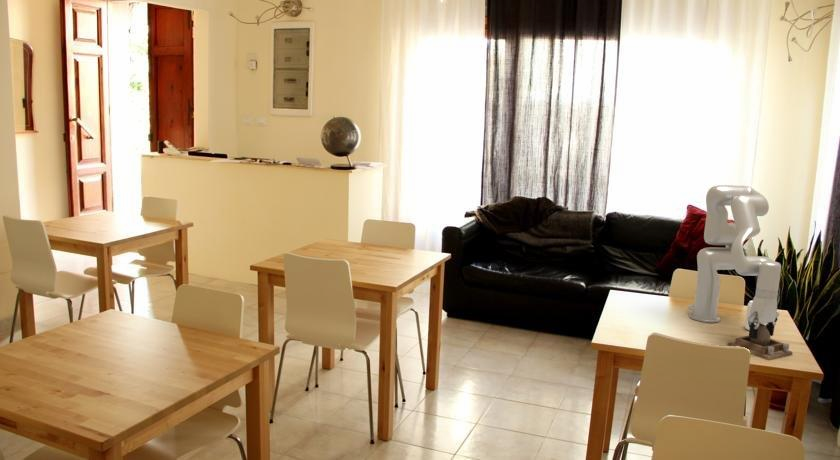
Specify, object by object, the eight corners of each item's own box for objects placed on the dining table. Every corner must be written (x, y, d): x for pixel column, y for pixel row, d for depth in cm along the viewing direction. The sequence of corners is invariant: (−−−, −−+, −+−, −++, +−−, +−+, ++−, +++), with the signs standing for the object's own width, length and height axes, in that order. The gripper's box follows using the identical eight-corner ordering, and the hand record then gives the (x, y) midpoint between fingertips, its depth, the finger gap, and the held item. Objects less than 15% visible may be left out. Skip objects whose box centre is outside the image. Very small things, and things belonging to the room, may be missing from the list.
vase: (771, 350, 276) (774, 328, 274) (751, 348, 277) (754, 326, 276) (766, 344, 283) (769, 323, 281) (747, 342, 284) (750, 321, 282)
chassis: (727, 344, 284) (728, 334, 283) (750, 340, 291) (751, 330, 290) (768, 360, 269) (770, 349, 268) (792, 354, 276) (793, 344, 275)
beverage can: (757, 334, 299) (760, 306, 297) (740, 328, 306) (743, 300, 304) (770, 332, 303) (773, 304, 301) (753, 326, 310) (756, 299, 308)
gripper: (772, 288, 283) (766, 330, 287) (743, 293, 275) (737, 336, 278) (789, 293, 277) (783, 336, 280) (760, 298, 268) (755, 342, 272)
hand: (760, 336), depth 279 cm, fingers open, 9 cm apart
